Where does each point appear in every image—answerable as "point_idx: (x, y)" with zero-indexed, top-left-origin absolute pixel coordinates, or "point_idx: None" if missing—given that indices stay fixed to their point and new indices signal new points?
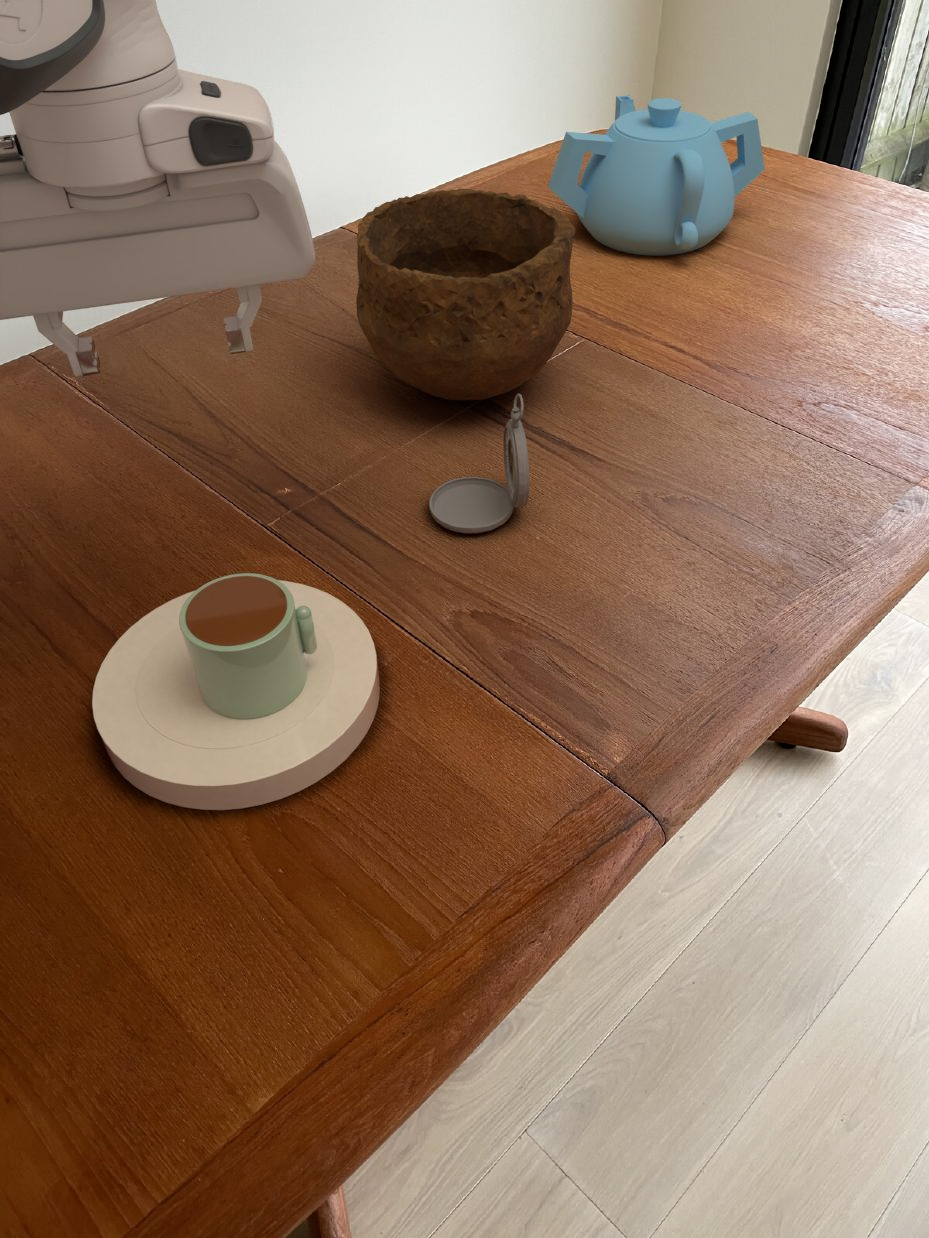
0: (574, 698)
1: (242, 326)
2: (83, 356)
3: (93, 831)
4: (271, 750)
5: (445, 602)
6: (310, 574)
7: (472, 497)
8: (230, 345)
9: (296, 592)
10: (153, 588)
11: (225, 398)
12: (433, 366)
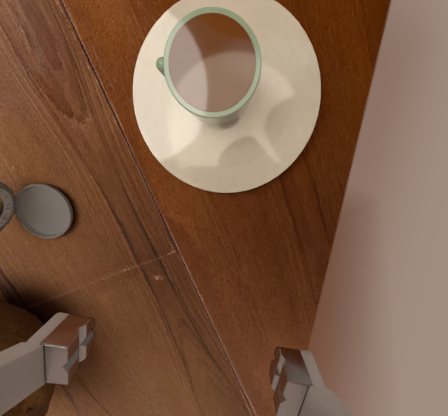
0: (25, 4)
1: (33, 346)
2: (299, 374)
3: (335, 31)
4: None
5: (85, 133)
6: (161, 196)
7: (44, 221)
8: (81, 326)
9: (170, 161)
10: (253, 224)
11: (173, 373)
12: (4, 327)
